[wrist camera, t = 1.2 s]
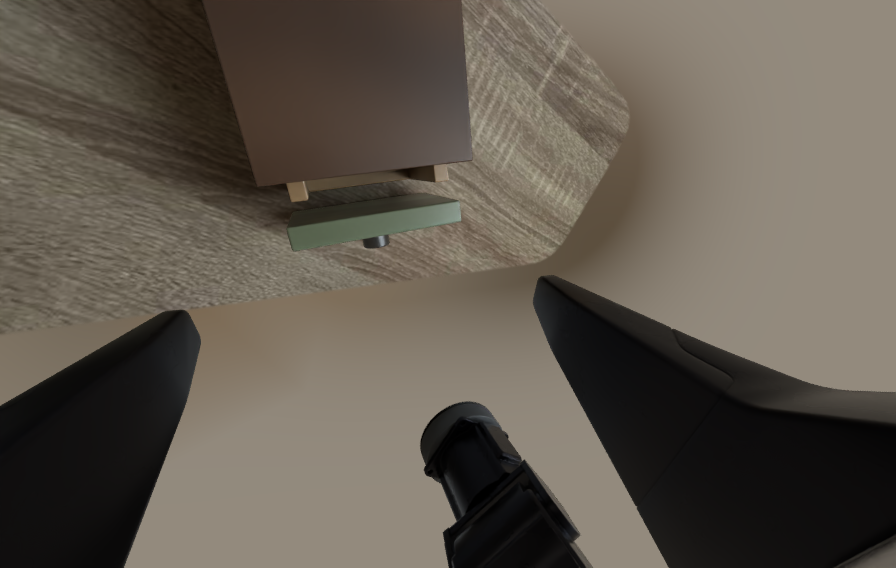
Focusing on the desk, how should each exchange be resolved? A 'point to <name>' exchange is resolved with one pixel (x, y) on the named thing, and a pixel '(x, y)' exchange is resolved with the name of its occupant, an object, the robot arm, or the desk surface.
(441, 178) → the drawer
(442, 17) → the cabinet
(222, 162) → the desk surface
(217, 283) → the desk surface
